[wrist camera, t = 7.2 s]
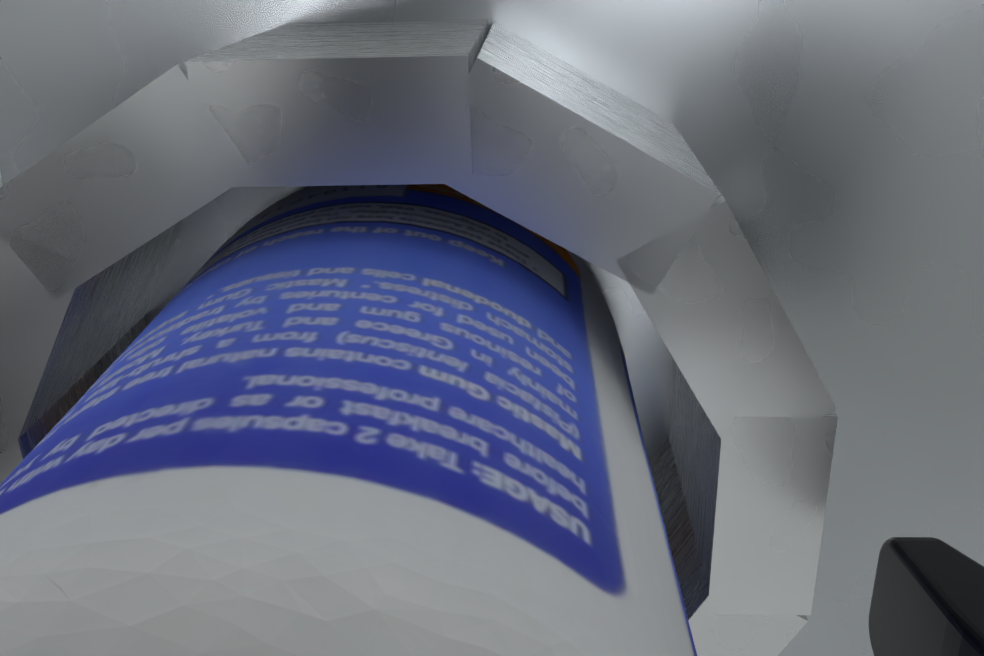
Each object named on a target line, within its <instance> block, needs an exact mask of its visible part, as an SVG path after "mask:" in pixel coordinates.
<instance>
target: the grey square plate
mask: <svg viewBox="0 0 984 656" xmlns="http://www.w3.org/2000/svg"><path fill="white" fill-rule="evenodd" d="M402 184H446V185H447V186H449V187H451V188H453V189H455V190H457V191H459V192H460V193H462V194H464V195H466V196H468V197H470V198H472V199H473V200H475V201H477V202H479V203H481V204H483V205H485V206H486V207H488V208H490V209H492V210H494V211H496V212H498V213H500V214H501V215H503V216H505V217H507V218H509V219H511V220H513V221H514V222H516V223H518V224H520V225H522V226H524V227H526V228H527V229H529V230H531V231H533V232H535V233H537V234H539V235H540V236H542V237H544V238H546V239H548V240H550V241H552V242H554V243H555V244H557V245H559V246H561V247H563V248H565V249H567V250H568V251H570V252H572V253H574V254H576V255H577V256H578V257H579V258H580V260H581V261H582V262H583V264H584V265H585V267H586V268H587V269H588V271H589V272H590V274H591V275H592V277H593V278H594V280H595V282H596V284H597V286H598V287H599V289H600V291H601V293H602V295H603V296H604V298H605V301H606V303H607V305H608V308H609V310H610V312H611V315H612V317H613V320H614V322H615V326H616V329H617V332H618V335H619V338H620V341H621V345H622V348H623V352H624V355H625V359H626V364H627V369H628V374H629V379H630V383H631V387H632V392H633V396H634V400H635V404H636V409H637V413H638V417H639V422H640V426H641V430H642V435H643V439H644V443H645V448H646V452H647V456H648V460H649V464H650V468H651V472H652V477H653V481H654V485H655V489H656V493H657V497H658V501H659V505H660V509H661V513H662V517H663V521H664V525H665V529H666V534H667V538H668V542H669V546H670V550H671V554H672V558H673V562H674V566H675V570H676V574H677V578H678V582H679V586H680V589H681V593H682V597H683V601H684V605H685V609H686V613H687V617H688V621H689V625H690V629H691V633H692V637H693V641H694V645H695V648H696V652H697V656H874V654H873V650H872V646H871V642H870V636H869V626H868V622H869V611H870V605H871V599H872V593H873V587H874V581H875V575H876V569H877V563H878V557H879V553H880V549H881V547H882V545H883V543H884V542H885V541H886V540H888V539H889V538H891V537H933V538H937V539H940V540H942V541H944V542H945V543H947V544H949V545H950V546H952V547H953V548H955V549H957V550H958V551H960V552H961V553H963V554H965V555H966V556H968V557H969V558H971V559H973V560H974V561H976V562H977V563H979V564H981V565H982V566H984V0H0V484H1V483H2V482H3V481H4V480H5V479H6V478H7V477H8V476H9V475H10V474H11V473H12V471H13V470H14V469H15V468H16V467H17V466H18V465H19V464H20V463H21V462H22V461H23V460H24V458H25V457H26V456H27V455H28V454H29V453H30V452H31V451H32V450H33V449H34V448H35V447H36V446H37V445H38V444H39V443H40V442H41V441H42V440H43V438H44V437H45V436H46V435H47V434H48V433H49V432H50V431H51V429H52V428H53V427H54V426H55V425H56V424H57V423H58V422H59V421H60V420H61V419H62V418H63V417H64V416H65V414H66V413H67V412H68V411H69V410H70V409H71V408H72V407H73V406H74V405H75V404H76V403H77V402H78V401H79V399H80V398H81V397H82V396H83V395H84V394H85V393H86V392H87V391H88V389H89V388H90V387H91V386H92V385H93V384H94V383H95V382H96V381H97V380H98V378H99V377H100V376H101V375H102V374H103V373H104V372H105V371H106V370H107V369H108V368H109V367H110V365H111V364H112V363H113V362H114V361H115V360H116V359H117V358H118V357H119V356H120V355H121V354H122V353H123V352H124V351H125V350H126V348H127V347H128V346H129V345H130V344H131V343H132V342H133V341H134V340H135V339H136V338H137V337H138V336H139V334H140V333H141V332H142V331H143V330H144V329H145V328H146V327H147V326H148V325H149V324H150V323H151V321H152V320H153V319H154V318H155V317H156V316H157V315H158V314H159V313H160V312H161V311H162V309H163V308H164V307H165V306H166V305H167V304H168V303H169V302H170V301H171V300H172V298H173V297H174V296H175V295H176V294H177V293H178V292H179V291H180V290H181V289H182V288H183V286H184V285H185V284H186V283H187V282H188V281H189V280H190V279H191V278H192V277H193V276H194V275H195V274H196V273H197V272H198V271H199V269H200V268H201V267H202V266H203V265H204V264H205V263H206V262H207V261H208V260H209V259H210V258H211V256H212V255H213V254H214V253H215V252H216V251H217V250H218V249H219V248H220V247H221V246H222V245H223V244H224V243H225V242H226V241H227V240H228V239H229V238H230V237H231V236H233V235H234V234H235V233H236V232H237V231H238V230H239V229H240V228H241V227H243V226H244V225H245V224H246V223H247V222H248V221H250V220H251V219H252V218H254V217H255V216H257V215H258V214H259V213H261V212H262V211H264V210H265V209H266V208H268V207H270V206H271V205H273V204H274V203H276V202H278V201H279V200H281V199H283V198H285V197H287V196H289V195H292V194H294V193H296V192H298V191H300V190H303V189H305V188H307V187H310V186H338V185H402Z"/></svg>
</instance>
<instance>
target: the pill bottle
mask: <svg viewBox="0 0 984 656" xmlns="http://www.w3.org/2000/svg"><path fill="white" fill-rule="evenodd" d="M0 656H697V652H696V648H695V645H694V641H693V637H692V633H691V629H690V625H689V621H688V617H687V613H686V609H685V605H684V601H683V597H682V593H681V589H680V586H679V582H678V578H677V574H676V570H675V566H674V562H673V558H672V554H671V550H670V546H669V542H668V538H667V534H666V529H665V525H664V521H663V517H662V513H661V509H660V505H659V501H658V497H657V493H656V489H655V485H654V481H653V477H652V472H651V468H650V464H649V460H648V456H647V452H646V448H645V443H644V439H643V435H642V430H641V426H640V422H639V417H638V413H637V409H636V404H635V400H634V396H633V392H632V387H631V383H630V379H629V374H628V369H627V364H626V359H625V355H624V352H623V348H622V345H621V341H620V338H619V335H618V332H617V329H616V326H615V322H614V320H613V317H612V315H611V312H610V310H609V308H608V305H607V303H606V301H605V298H604V296H603V295H602V293H601V291H600V289H599V287H598V286H597V284H596V282H595V280H594V278H593V277H592V275H591V274H590V272H589V271H588V269H587V268H586V267H585V265H584V264H583V262H582V261H581V260H580V258H579V257H578V256H577V255H576V254H574V253H572V252H570V251H568V250H567V249H565V248H563V247H561V246H559V245H557V244H555V243H554V242H552V241H550V240H548V239H546V238H544V237H542V236H540V235H539V234H537V233H535V232H533V231H531V230H529V229H527V228H526V227H524V226H522V225H520V224H518V223H516V222H514V221H513V220H511V219H509V218H507V217H505V216H503V215H501V214H500V213H498V212H496V211H494V210H492V209H490V208H488V207H486V206H485V205H483V204H481V203H479V202H477V201H475V200H473V199H472V198H470V197H468V196H466V195H464V194H462V193H460V192H459V191H457V190H455V189H453V188H451V187H449V186H447V185H446V184H402V185H338V186H310V187H307V188H305V189H303V190H300V191H298V192H296V193H294V194H292V195H289V196H287V197H285V198H283V199H281V200H279V201H278V202H276V203H274V204H273V205H271V206H270V207H268V208H266V209H265V210H264V211H262V212H261V213H259V214H258V215H257V216H255V217H254V218H252V219H251V220H250V221H248V222H247V223H246V224H245V225H244V226H243V227H241V228H240V229H239V230H238V231H237V232H236V233H235V234H234V235H233V236H231V237H230V238H229V239H228V240H227V241H226V242H225V243H224V244H223V245H222V246H221V247H220V248H219V249H218V250H217V251H216V252H215V253H214V254H213V255H212V256H211V258H210V259H209V260H208V261H207V262H206V263H205V264H204V265H203V266H202V267H201V268H200V269H199V271H198V272H197V273H196V274H195V275H194V276H193V277H192V278H191V279H190V280H189V281H188V282H187V283H186V284H185V285H184V286H183V288H182V289H181V290H180V291H179V292H178V293H177V294H176V295H175V296H174V297H173V298H172V300H171V301H170V302H169V303H168V304H167V305H166V306H165V307H164V308H163V309H162V311H161V312H160V313H159V314H158V315H157V316H156V317H155V318H154V319H153V320H152V321H151V323H150V324H149V325H148V326H147V327H146V328H145V329H144V330H143V331H142V332H141V333H140V334H139V336H138V337H137V338H136V339H135V340H134V341H133V342H132V343H131V344H130V345H129V346H128V347H127V348H126V350H125V351H124V352H123V353H122V354H121V355H120V356H119V357H118V358H117V359H116V360H115V361H114V362H113V363H112V364H111V365H110V367H109V368H108V369H107V370H106V371H105V372H104V373H103V374H102V375H101V376H100V377H99V378H98V380H97V381H96V382H95V383H94V384H93V385H92V386H91V387H90V388H89V389H88V391H87V392H86V393H85V394H84V395H83V396H82V397H81V398H80V399H79V401H78V402H77V403H76V404H75V405H74V406H73V407H72V408H71V409H70V410H69V411H68V412H67V413H66V414H65V416H64V417H63V418H62V419H61V420H60V421H59V422H58V423H57V424H56V425H55V426H54V427H53V428H52V429H51V431H50V432H49V433H48V434H47V435H46V436H45V437H44V438H43V440H42V441H41V442H40V443H39V444H38V445H37V446H36V447H35V448H34V449H33V450H32V451H31V452H30V453H29V454H28V455H27V456H26V457H25V458H24V460H23V461H22V462H21V463H20V464H19V465H18V466H17V467H16V468H15V469H14V470H13V471H12V473H11V474H10V475H9V476H8V477H7V478H6V479H5V480H4V481H3V482H2V483H1V484H0Z"/></svg>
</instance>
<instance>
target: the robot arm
mask: <svg viewBox="0 0 984 656" xmlns="http://www.w3.org/2000/svg"><path fill="white" fill-rule="evenodd" d="M868 626H869V636H870V642H871V646H872V650H873V654H874V656H984V566H982V565H981V564H979V563H977V562H976V561H974V560H973V559H971V558H969V557H968V556H966V555H965V554H963V553H961V552H960V551H958V550H957V549H955V548H953V547H952V546H950V545H949V544H947V543H945V542H944V541H942V540H940V539H937V538H933V537H891V538H889V539H888V540H886V541H885V542H884V543H883V545H882V547H881V549H880V553H879V557H878V563H877V569H876V575H875V581H874V587H873V593H872V599H871V605H870V611H869V622H868Z"/></svg>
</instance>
